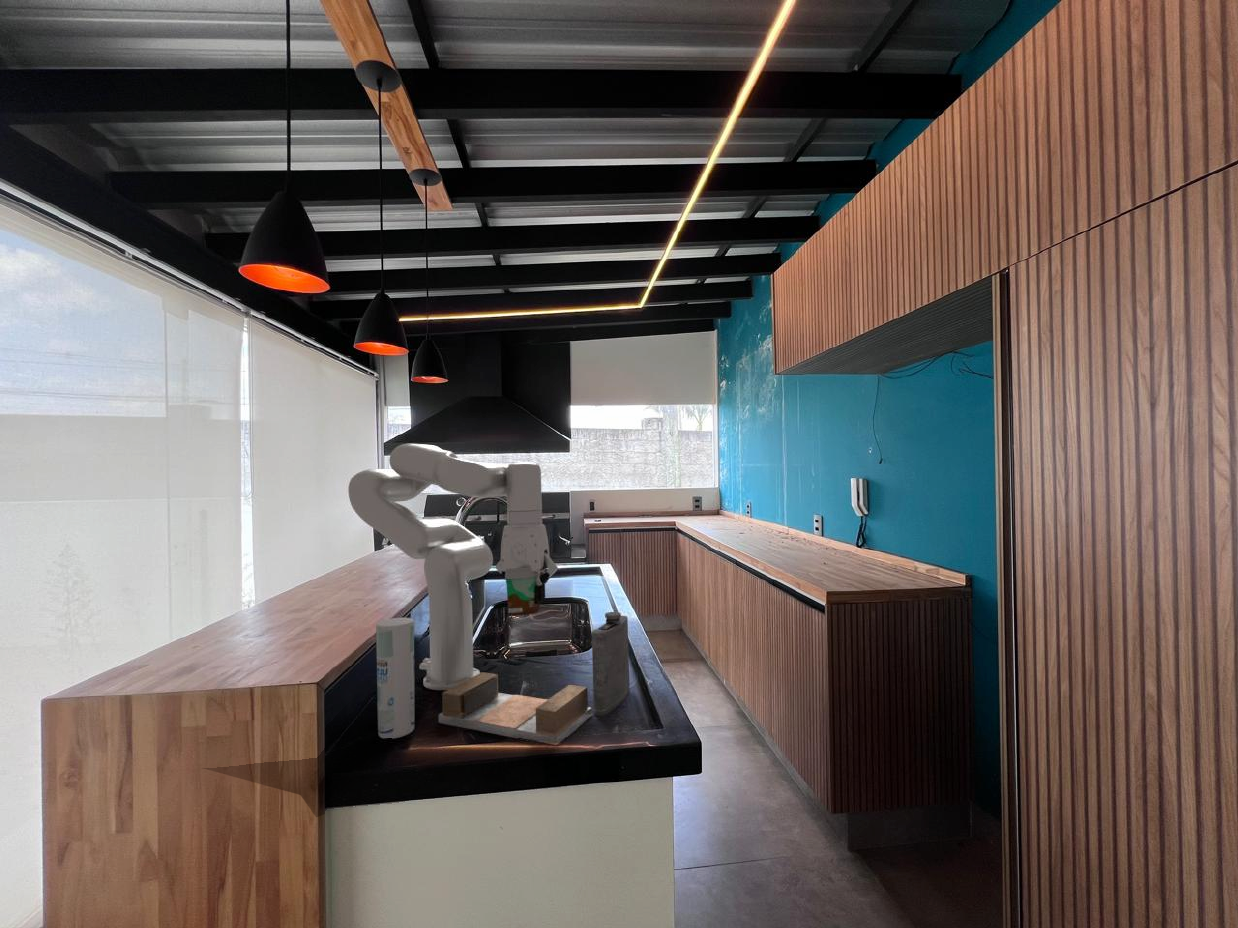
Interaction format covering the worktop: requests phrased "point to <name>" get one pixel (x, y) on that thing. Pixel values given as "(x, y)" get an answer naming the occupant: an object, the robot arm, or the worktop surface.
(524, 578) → the food container
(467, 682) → the wooden u-shaped base
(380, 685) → the spray can
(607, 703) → the flask
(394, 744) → the worktop surface
